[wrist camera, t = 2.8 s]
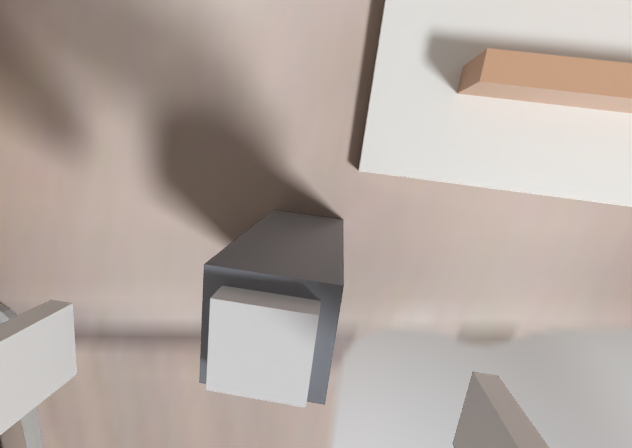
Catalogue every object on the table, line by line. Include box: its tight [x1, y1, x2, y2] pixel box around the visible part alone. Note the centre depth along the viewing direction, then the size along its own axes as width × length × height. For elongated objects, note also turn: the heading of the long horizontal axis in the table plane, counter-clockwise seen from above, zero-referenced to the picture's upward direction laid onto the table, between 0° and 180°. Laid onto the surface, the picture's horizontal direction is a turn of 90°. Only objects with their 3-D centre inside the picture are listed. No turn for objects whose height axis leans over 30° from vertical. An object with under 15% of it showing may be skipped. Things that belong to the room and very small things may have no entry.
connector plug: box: [199, 210, 344, 408], centre depth 16 cm, size 5×5×12 cm
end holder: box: [358, 0, 632, 207], centre depth 15 cm, size 20×24×4 cm
